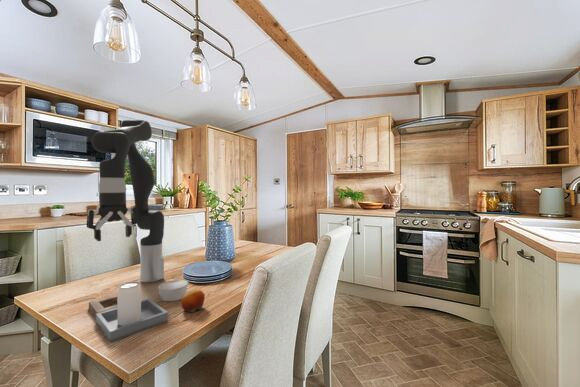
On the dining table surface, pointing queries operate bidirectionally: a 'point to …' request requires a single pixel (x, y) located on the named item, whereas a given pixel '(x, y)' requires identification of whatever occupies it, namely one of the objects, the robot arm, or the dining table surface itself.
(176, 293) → the ramekin
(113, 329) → the tray
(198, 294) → the fruit
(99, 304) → the square wooden frame
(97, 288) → the dining table surface
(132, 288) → the can
